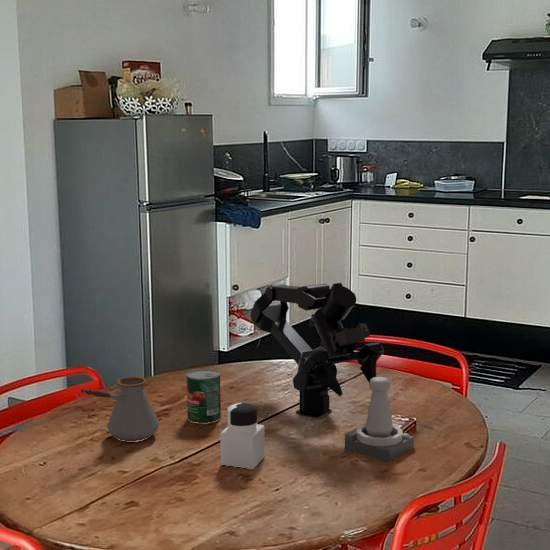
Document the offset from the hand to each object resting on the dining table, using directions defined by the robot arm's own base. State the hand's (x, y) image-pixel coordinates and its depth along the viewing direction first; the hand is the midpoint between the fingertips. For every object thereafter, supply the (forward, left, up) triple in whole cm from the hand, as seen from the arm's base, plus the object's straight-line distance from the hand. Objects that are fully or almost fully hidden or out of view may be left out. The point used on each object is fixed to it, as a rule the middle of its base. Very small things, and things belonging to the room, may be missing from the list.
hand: (358, 391), depth 187 cm
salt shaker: (+7, -3, -8) cm, 11 cm away
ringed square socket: (+7, -3, -10) cm, 13 cm away
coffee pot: (-39, -35, -11) cm, 54 cm away
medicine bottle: (-11, -26, -11) cm, 30 cm away
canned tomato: (-35, -12, -11) cm, 39 cm away
